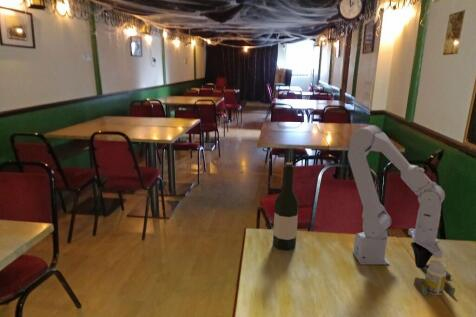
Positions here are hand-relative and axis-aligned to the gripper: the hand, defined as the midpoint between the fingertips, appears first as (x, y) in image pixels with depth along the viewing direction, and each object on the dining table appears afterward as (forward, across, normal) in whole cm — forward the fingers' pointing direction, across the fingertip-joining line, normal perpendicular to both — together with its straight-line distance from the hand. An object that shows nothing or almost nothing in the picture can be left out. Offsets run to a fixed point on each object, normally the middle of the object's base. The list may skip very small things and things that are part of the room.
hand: (420, 266), depth 104 cm
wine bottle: (+3, +18, +38) cm, 43 cm away
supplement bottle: (+3, -8, 0) cm, 8 cm away
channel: (+3, -8, 0) cm, 8 cm away
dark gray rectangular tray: (+3, +1, -6) cm, 6 cm away
